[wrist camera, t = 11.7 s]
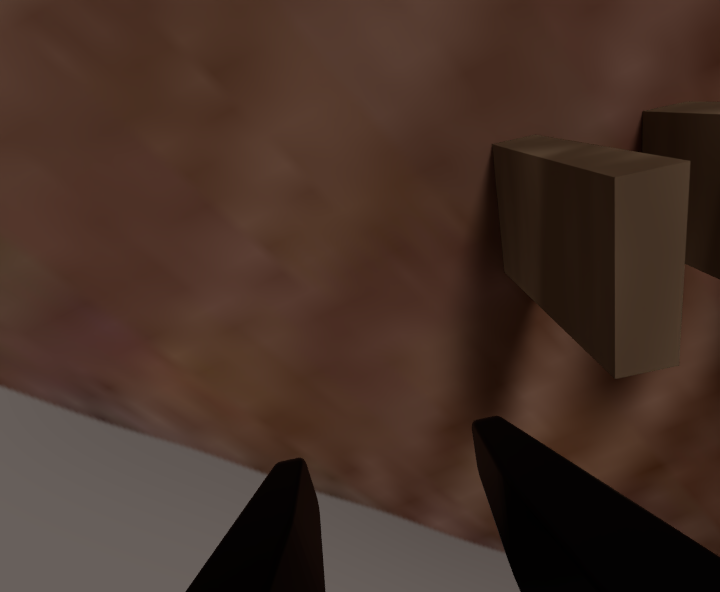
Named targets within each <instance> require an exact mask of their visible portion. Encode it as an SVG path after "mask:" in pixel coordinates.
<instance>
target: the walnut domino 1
mask: <svg viewBox="0 0 720 592" xmlns="http://www.w3.org/2000/svg"><path fill="white" fill-rule="evenodd" d="M492 148H493V158H494V169H495V179H496V190H497V200H498V211H499V221H500V232H501V242H502V253H503V263H504V273H505V274H506V275H508V276H509V277H510V278H511V279H512V280H513V281H514V282H515V283H516V284H517V285H518V286H519V287H520V288H521V289H522V290H523V291H524V292H525V293H526V294H527V295H528V296H529V297H530V298H531V299H532V300H533V301H535V302H536V303H537V304H538V305H539V306H540V307H541V308H542V309H543V310H544V311H545V312H546V313H547V314H548V315H549V316H550V317H551V318H552V319H553V320H554V321H555V322H556V323H557V324H558V325H559V326H560V327H562V328H563V329H564V330H565V331H566V332H567V333H568V334H569V335H570V336H571V337H572V338H573V339H574V340H575V341H576V342H577V343H578V344H579V345H580V346H581V347H582V348H583V349H584V350H585V351H586V352H587V353H589V354H590V355H591V356H592V357H593V358H594V359H595V360H596V361H597V362H598V363H599V364H600V365H601V366H602V367H603V368H604V369H605V370H606V371H607V372H608V373H609V374H610V375H611V376H612V377H613V378H615V379H618V378H622V377H627V376H632V375H637V374H641V373H646V372H651V371H656V370H660V369H665V368H670V367H674V366H679V357H680V339H681V321H682V304H683V286H684V268H685V251H686V233H687V215H688V197H689V180H690V162H691V161H688V160H682V159H676V158H670V157H664V156H658V155H653V154H647V153H641V152H635V151H629V150H623V149H617V148H611V147H605V146H599V145H594V144H588V143H582V142H576V141H570V140H564V139H558V138H552V137H546V136H540V135H532V136H528V137H523V138H519V139H514V140H510V141H505V142H500V143H496V144H492Z"/></svg>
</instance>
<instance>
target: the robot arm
mask: <svg viewBox="0 0 720 592" xmlns="http://www.w3.org/2000/svg"><path fill="white" fill-rule="evenodd" d="M472 433H473V440H474V447H475V454H476V461H477V467H478V471H479V475H480V478H481V481H482V484H483V487H484V490H485V493H486V496H487V499H488V502H489V505H490V508H491V511H492V514H493V517H494V520H495V523H496V526H497V529H498V532H499V535H500V538H501V541H502V544H503V547H504V550H505V553H506V555H507V558H508V561H509V563H510V567H511V569H512V572H513V575H514V577H515V580H516V582H517V584H518V587H519V589H520V591H521V592H720V557H719V556H717V555H716V554H714V553H713V552H711V551H709V550H708V549H706V548H705V547H703V546H702V545H700V544H699V543H697V542H695V541H694V540H692V539H691V538H689V537H688V536H686V535H684V534H683V533H681V532H680V531H678V530H677V529H675V528H674V527H672V526H670V525H669V524H667V523H666V522H664V521H663V520H661V519H659V518H658V517H656V516H655V515H653V514H652V513H650V512H649V511H647V510H645V509H644V508H642V507H641V506H639V505H638V504H636V503H634V502H633V501H631V500H630V499H628V498H627V497H625V496H624V495H622V494H620V493H619V492H617V491H616V490H614V489H613V488H611V487H609V486H608V485H606V484H605V483H603V482H602V481H600V480H599V479H597V478H595V477H594V476H592V475H591V474H589V473H588V472H586V471H584V470H583V469H581V468H580V467H578V466H577V465H575V464H574V463H572V462H570V461H569V460H567V459H566V458H564V457H563V456H561V455H559V454H558V453H556V452H555V451H553V450H552V449H550V448H549V447H547V446H545V445H544V444H542V443H541V442H539V441H538V440H536V439H534V438H533V437H531V436H530V435H528V434H527V433H525V432H524V431H522V430H520V429H519V428H517V427H516V426H514V425H513V424H511V423H509V422H508V421H506V420H505V419H503V418H502V417H499V416H492V417H488V418H483V419H478V420H475V421H474V422H473V423H472ZM320 525H321V524H320V512H319V505H318V500H317V496H316V493H315V490H314V486H313V483H312V480H311V477H310V474H309V471H308V467H307V464H306V462H305V461H304V459H302V458H295V459H290V460H286V461H281V462H278V463H277V464H276V465H275V466H274V467H273V468H272V470H271V471H270V473H269V474H268V476H267V477H266V478H265V480H264V481H263V483H262V484H261V486H260V487H259V488H258V490H257V491H256V493H255V494H254V496H253V497H252V498H251V500H250V501H249V502H248V504H247V505H246V507H245V508H244V510H243V511H242V512H241V514H240V515H239V517H238V518H237V520H236V521H235V522H234V524H233V525H232V527H231V528H230V529H229V531H228V533H227V534H226V535H225V536H224V538H223V539H222V541H221V542H220V544H219V545H218V546H217V548H216V549H215V551H214V552H213V554H212V555H211V556H210V558H209V559H208V561H207V562H206V563H205V565H204V566H203V568H202V569H201V570H200V572H199V573H198V575H197V576H196V578H195V579H194V580H193V582H192V583H191V585H190V586H189V588H188V589H187V590H186V592H325V580H324V566H323V553H322V539H321V526H320Z"/></svg>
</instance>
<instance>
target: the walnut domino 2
mask: <svg viewBox="0 0 720 592" xmlns="http://www.w3.org/2000/svg"><path fill="white" fill-rule="evenodd" d="M642 153H647V154H653V155H658V156H664V157H670V158H676V159H682V160H688V161H691V162H690V180H689V197H688V215H687V233H686V251H685V264H687V265H689V266H691V267H694V268H696V269H698V270H700V271H702V272H705V273H707V274H709V275H711V276H713V277H716V278H718V279H720V102H683V103H678V104H674V105H669V106H665V107H660V108H656V109H651V110H647V111H643V130H642Z"/></svg>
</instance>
